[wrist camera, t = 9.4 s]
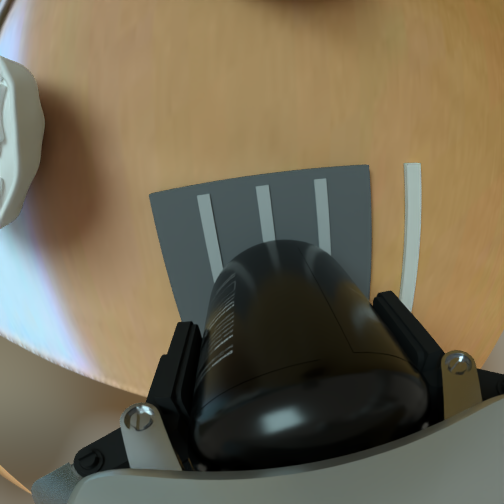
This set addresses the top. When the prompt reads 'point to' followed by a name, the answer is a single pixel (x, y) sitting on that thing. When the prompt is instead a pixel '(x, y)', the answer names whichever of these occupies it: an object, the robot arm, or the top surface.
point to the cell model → (18, 136)
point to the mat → (261, 225)
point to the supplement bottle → (297, 366)
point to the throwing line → (411, 232)
